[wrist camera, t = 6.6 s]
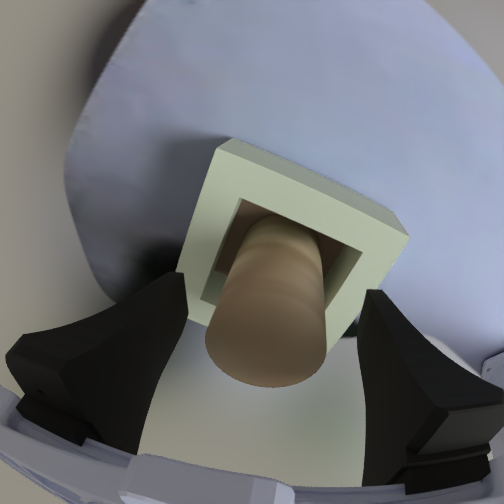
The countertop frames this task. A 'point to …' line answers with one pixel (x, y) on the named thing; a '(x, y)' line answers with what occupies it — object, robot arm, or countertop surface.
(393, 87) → the countertop surface
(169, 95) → the countertop surface
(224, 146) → the socket
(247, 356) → the peg
